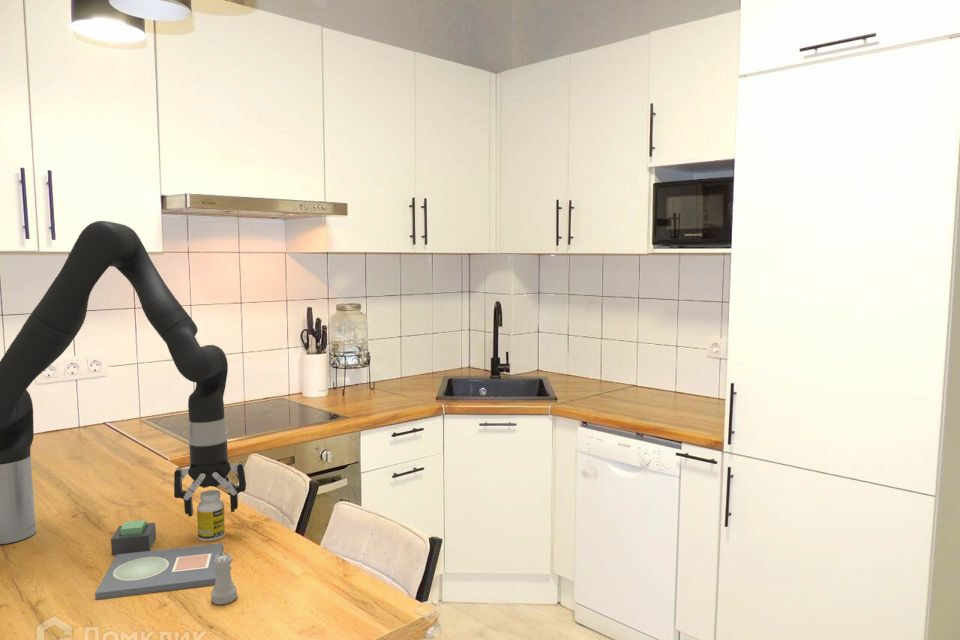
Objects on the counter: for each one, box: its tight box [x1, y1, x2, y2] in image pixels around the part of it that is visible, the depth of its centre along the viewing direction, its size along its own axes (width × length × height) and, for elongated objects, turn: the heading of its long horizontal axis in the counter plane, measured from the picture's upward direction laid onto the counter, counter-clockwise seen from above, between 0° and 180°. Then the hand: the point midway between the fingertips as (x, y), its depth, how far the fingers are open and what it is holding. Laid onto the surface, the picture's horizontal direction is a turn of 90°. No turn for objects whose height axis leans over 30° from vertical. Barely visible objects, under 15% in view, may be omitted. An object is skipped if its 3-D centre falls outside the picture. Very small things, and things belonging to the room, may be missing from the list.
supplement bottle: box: [196, 489, 226, 542], centre depth 147 cm, size 5×5×10 cm
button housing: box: [110, 521, 157, 557], centre depth 143 cm, size 7×7×4 cm
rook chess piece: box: [210, 552, 238, 606], centre depth 121 cm, size 4×4×8 cm
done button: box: [120, 519, 147, 536], centre depth 142 cm, size 4×4×2 cm
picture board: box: [94, 542, 225, 601], centre depth 131 cm, size 20×16×1 cm
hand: (212, 513), depth 147 cm, fingers open, 8 cm apart
